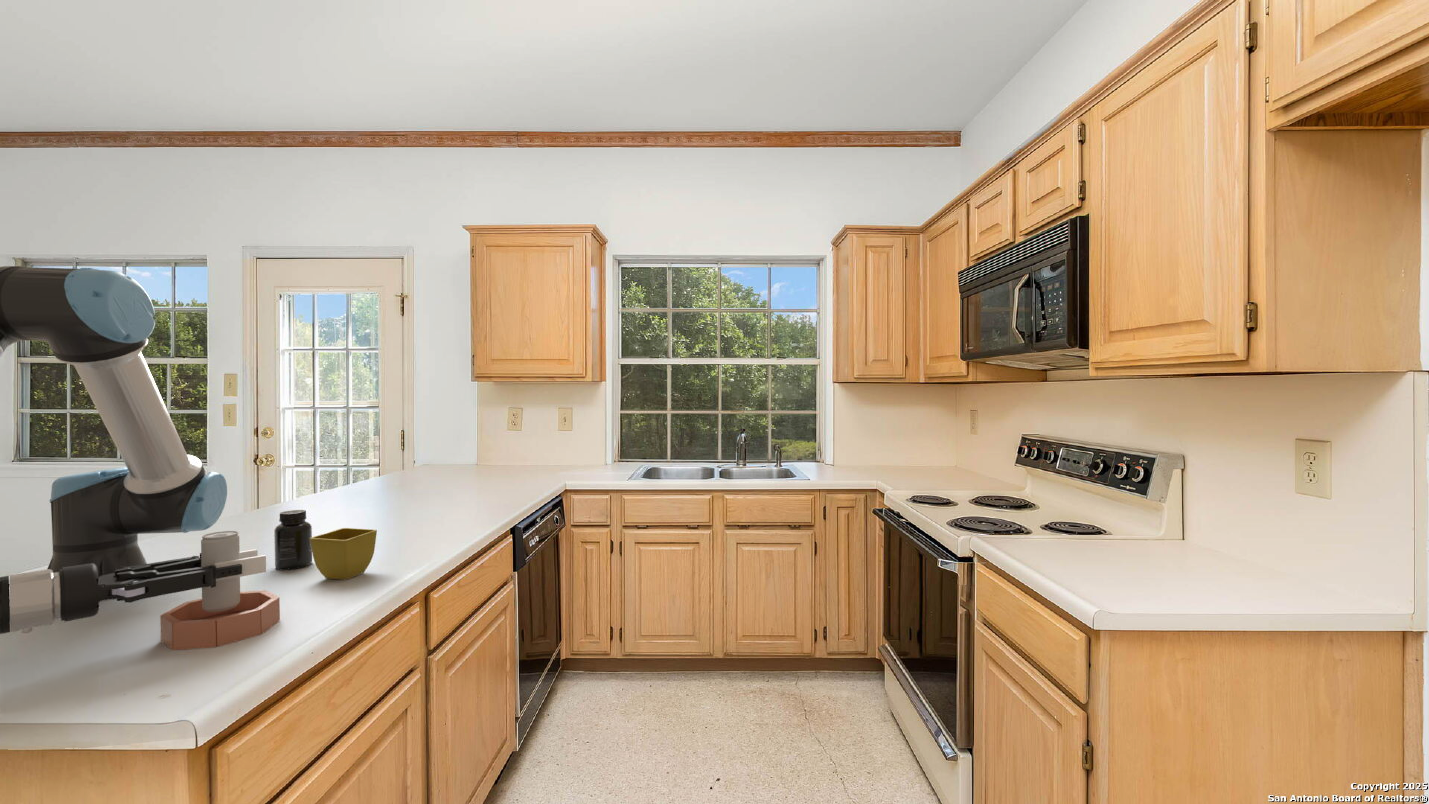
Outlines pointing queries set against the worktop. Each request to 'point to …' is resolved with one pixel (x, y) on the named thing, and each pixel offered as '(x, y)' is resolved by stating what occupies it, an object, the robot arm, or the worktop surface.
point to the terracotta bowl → (219, 622)
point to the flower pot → (343, 552)
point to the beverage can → (212, 552)
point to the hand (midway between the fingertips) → (260, 560)
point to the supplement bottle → (293, 540)
